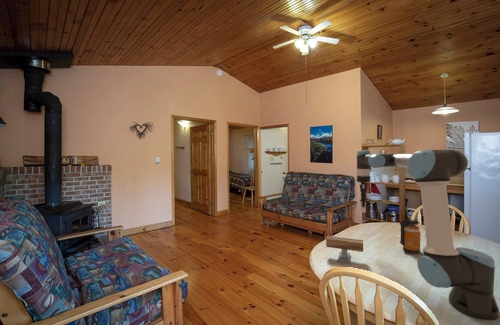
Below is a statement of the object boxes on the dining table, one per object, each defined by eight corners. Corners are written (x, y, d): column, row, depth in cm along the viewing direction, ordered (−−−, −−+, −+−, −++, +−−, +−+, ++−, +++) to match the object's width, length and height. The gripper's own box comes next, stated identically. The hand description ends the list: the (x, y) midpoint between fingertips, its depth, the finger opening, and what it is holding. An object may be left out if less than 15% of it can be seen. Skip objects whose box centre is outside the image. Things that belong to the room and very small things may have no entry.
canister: (422, 254, 148) (423, 222, 146) (402, 253, 150) (403, 221, 149) (416, 248, 156) (416, 218, 155) (396, 247, 159) (397, 217, 157)
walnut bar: (363, 251, 138) (363, 243, 138) (326, 246, 146) (326, 238, 146) (363, 248, 143) (363, 240, 142) (327, 243, 151) (327, 235, 150)
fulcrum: (349, 264, 138) (349, 252, 138) (338, 262, 140) (338, 250, 140) (350, 255, 149) (350, 244, 148) (339, 253, 151) (339, 243, 151)
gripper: (371, 178, 138) (370, 215, 140) (369, 173, 161) (369, 205, 162) (356, 177, 141) (356, 214, 143) (356, 173, 164) (356, 204, 166)
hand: (363, 209), depth 153 cm, fingers open, 13 cm apart
